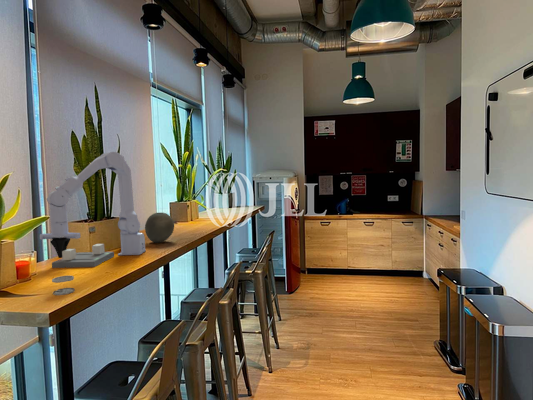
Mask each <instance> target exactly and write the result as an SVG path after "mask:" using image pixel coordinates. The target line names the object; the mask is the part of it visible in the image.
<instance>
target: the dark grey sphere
mask: <svg viewBox="0 0 533 400" xmlns="http://www.w3.org/2000/svg"><path fill="white" fill-rule="evenodd" d="M144 226H145V227H144V230H145V234H146V237H147V239H148V240H149V241H150V242H153V243H154V244H159V243H163V242H165V241H167V240H168V239H169V238H170V237H171V236H172V234H173V233H174V230H175V222H174V220H173V218H172V217H171V215H169V214H168V213H167V212H166V213H165V212H155V213H152V214H151V215H150V216H149V217H148V218H147V219H146V221H145V225H144Z"/></svg>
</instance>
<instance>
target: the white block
mask: <svg viewBox="0 0 533 400" xmlns="http://www.w3.org/2000/svg"><path fill="white" fill-rule="evenodd" d="M76 253H77V251H76V248H66V250H64V251H62V258H61V259H63V260H72V259H74V258H76Z"/></svg>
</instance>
